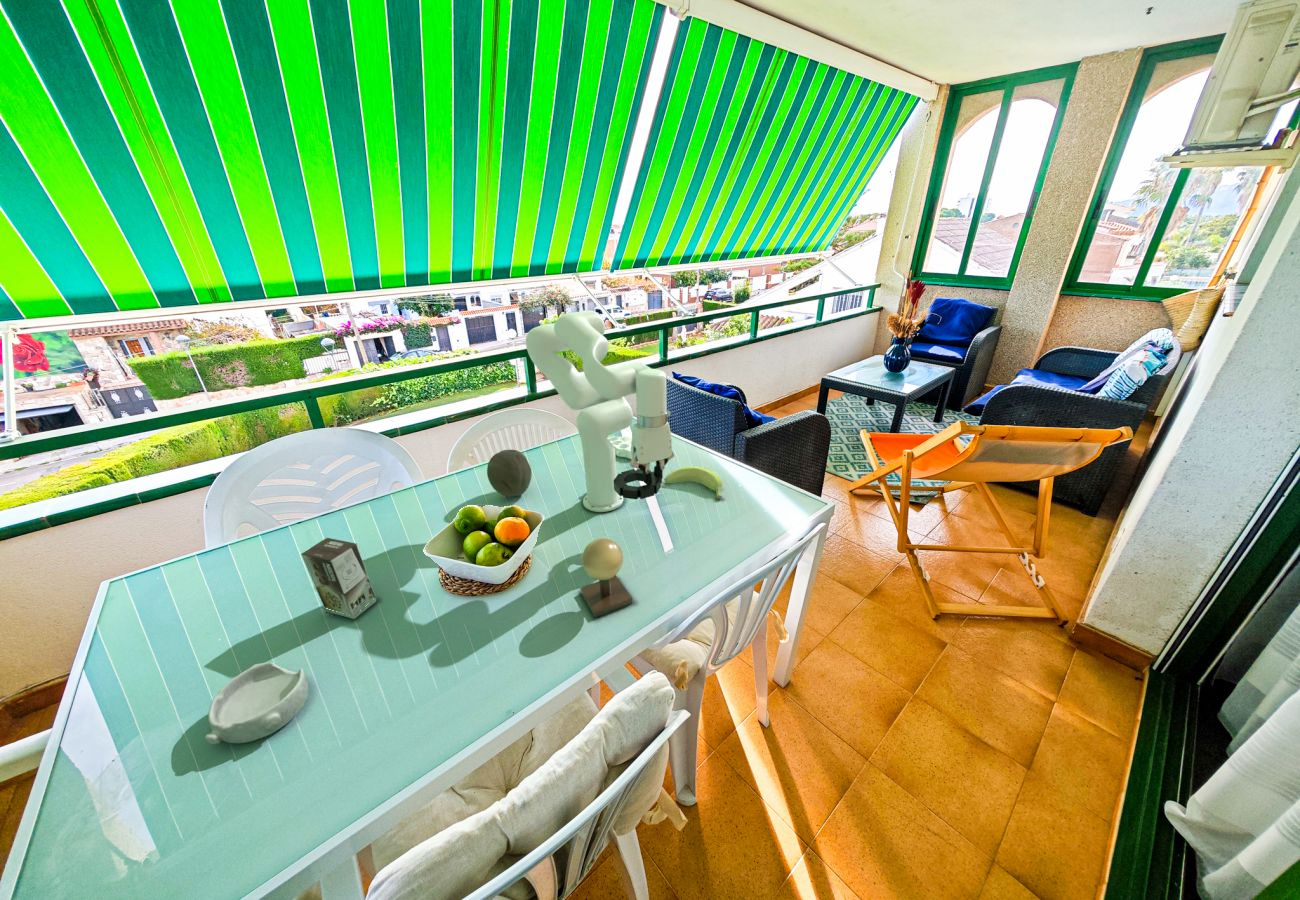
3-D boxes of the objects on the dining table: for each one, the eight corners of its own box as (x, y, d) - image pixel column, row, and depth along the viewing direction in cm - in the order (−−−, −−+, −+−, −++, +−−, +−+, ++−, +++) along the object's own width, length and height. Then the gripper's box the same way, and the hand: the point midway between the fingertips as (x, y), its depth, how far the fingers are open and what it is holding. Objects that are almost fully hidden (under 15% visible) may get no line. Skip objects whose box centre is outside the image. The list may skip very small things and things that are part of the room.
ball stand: (580, 592, 107) (574, 537, 100) (616, 579, 110) (611, 525, 104) (595, 617, 99) (589, 560, 93) (632, 603, 103) (629, 546, 97)
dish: (253, 679, 88) (243, 660, 86) (328, 672, 88) (320, 654, 86) (190, 756, 74) (176, 736, 72) (280, 747, 75) (268, 727, 73)
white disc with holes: (655, 451, 178) (626, 463, 169) (625, 438, 190) (597, 449, 181) (655, 443, 176) (626, 454, 167) (625, 431, 188) (596, 441, 180)
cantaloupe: (544, 489, 152) (538, 448, 146) (511, 509, 142) (503, 465, 135) (514, 479, 159) (507, 440, 153) (481, 497, 149) (472, 456, 143)
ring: (608, 483, 123) (607, 475, 122) (646, 473, 128) (646, 465, 127) (626, 503, 114) (626, 495, 113) (667, 491, 119) (667, 483, 118)
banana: (693, 454, 157) (733, 482, 143) (695, 466, 160) (734, 495, 146) (661, 473, 152) (699, 505, 138) (664, 485, 155) (701, 517, 141)
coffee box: (378, 600, 106) (357, 543, 100) (353, 620, 101) (330, 561, 94) (349, 592, 109) (327, 536, 103) (324, 611, 104) (299, 553, 97)
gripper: (671, 409, 121) (671, 470, 129) (616, 420, 115) (619, 484, 123) (686, 417, 115) (685, 481, 123) (629, 430, 109) (632, 496, 117)
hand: (652, 482), depth 123 cm, fingers closed on ring, 2 cm apart
